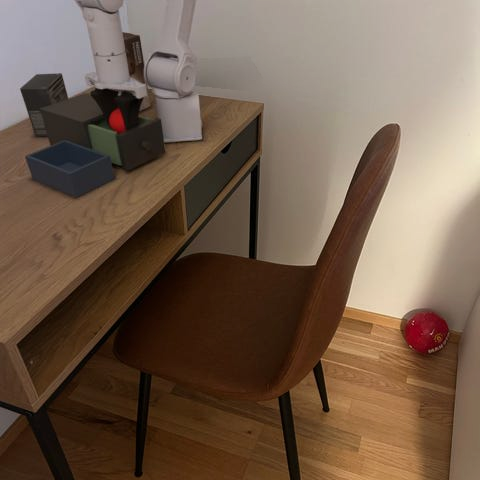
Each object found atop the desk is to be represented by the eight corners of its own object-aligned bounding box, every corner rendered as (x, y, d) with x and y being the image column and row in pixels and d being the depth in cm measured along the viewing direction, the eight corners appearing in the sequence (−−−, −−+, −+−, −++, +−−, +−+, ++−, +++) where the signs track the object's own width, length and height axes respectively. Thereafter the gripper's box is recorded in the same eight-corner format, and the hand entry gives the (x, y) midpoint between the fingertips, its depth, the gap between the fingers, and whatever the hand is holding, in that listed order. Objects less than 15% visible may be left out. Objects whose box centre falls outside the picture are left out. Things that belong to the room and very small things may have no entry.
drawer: (169, 153, 97) (165, 120, 92) (131, 172, 90) (124, 137, 86) (124, 139, 103) (118, 107, 98) (85, 156, 97) (76, 122, 92)
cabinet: (135, 144, 103) (128, 104, 97) (92, 164, 96) (82, 121, 90) (94, 131, 109) (85, 92, 103) (51, 149, 102) (39, 108, 96)
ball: (136, 129, 96) (132, 104, 92) (136, 138, 92) (132, 112, 89) (112, 130, 95) (107, 105, 92) (111, 139, 92) (106, 114, 88)
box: (114, 178, 91) (109, 155, 87) (76, 197, 85) (69, 173, 82) (71, 162, 97) (65, 139, 93) (32, 178, 91) (24, 155, 88)
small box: (48, 120, 115) (35, 72, 108) (75, 119, 115) (63, 72, 107) (33, 137, 107) (17, 87, 100) (61, 136, 107) (48, 87, 100)
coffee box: (133, 102, 123) (121, 31, 112) (151, 107, 120) (141, 34, 109) (107, 113, 118) (92, 39, 107) (125, 118, 115) (111, 42, 104)
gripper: (65, 51, 85) (83, 128, 94) (120, 63, 78) (134, 144, 87) (95, 43, 89) (110, 117, 98) (150, 54, 82) (160, 132, 92)
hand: (123, 129), depth 93 cm, fingers closed on ball, 4 cm apart
